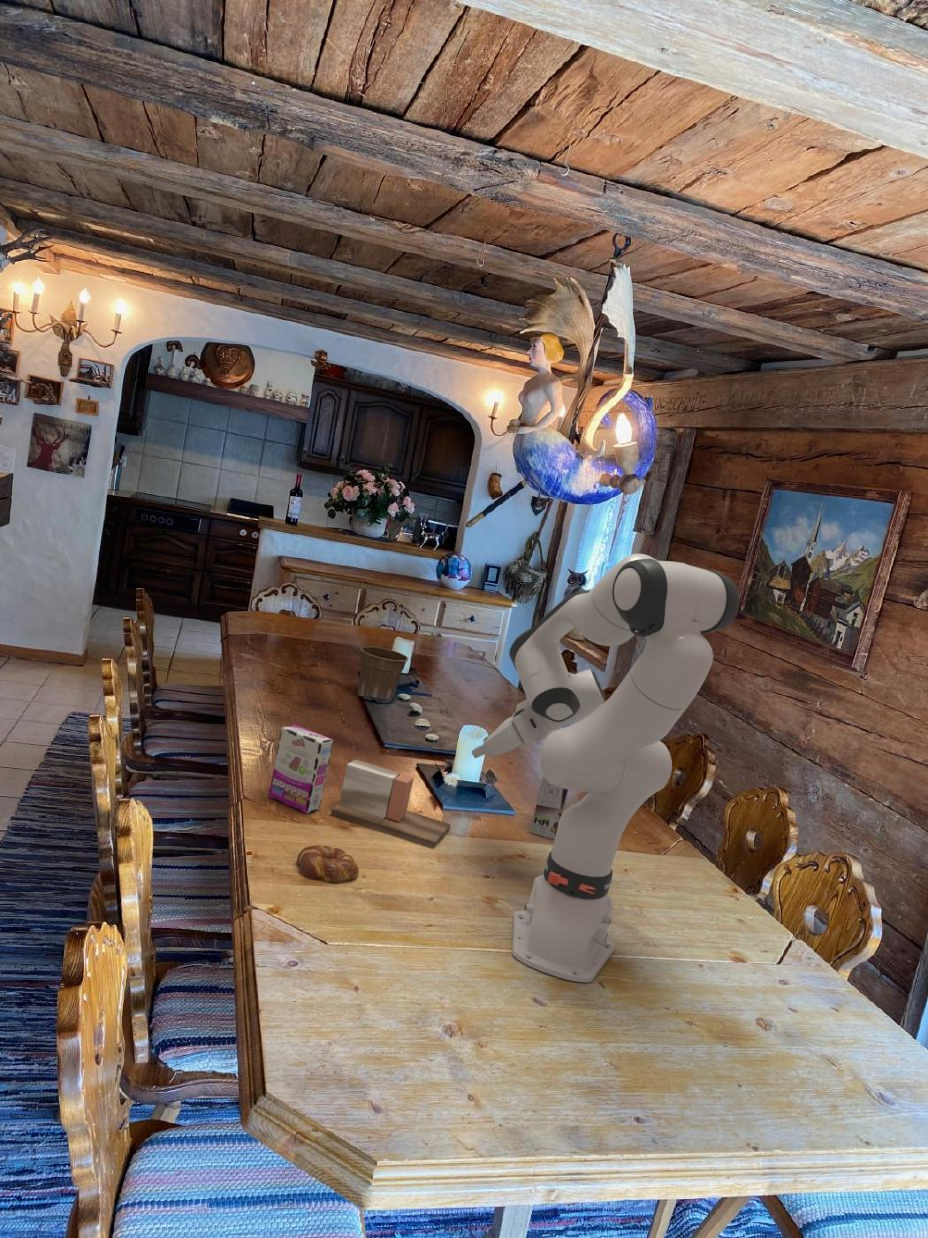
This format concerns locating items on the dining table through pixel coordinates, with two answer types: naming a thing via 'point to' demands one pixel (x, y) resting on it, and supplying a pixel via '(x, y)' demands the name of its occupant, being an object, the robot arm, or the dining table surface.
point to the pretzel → (327, 864)
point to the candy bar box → (300, 768)
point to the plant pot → (380, 672)
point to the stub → (399, 797)
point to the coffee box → (548, 810)
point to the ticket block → (382, 806)
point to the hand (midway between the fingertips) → (479, 748)
